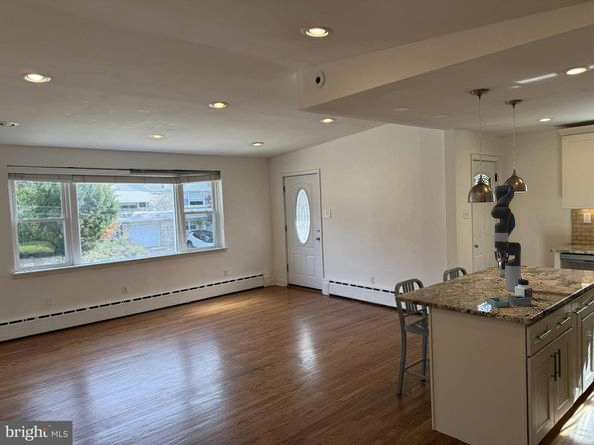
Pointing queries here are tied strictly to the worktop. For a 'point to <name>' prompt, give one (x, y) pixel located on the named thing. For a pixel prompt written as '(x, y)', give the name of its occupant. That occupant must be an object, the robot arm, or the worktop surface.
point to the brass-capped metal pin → (501, 272)
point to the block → (519, 300)
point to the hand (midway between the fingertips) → (501, 268)
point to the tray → (498, 302)
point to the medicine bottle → (523, 288)
